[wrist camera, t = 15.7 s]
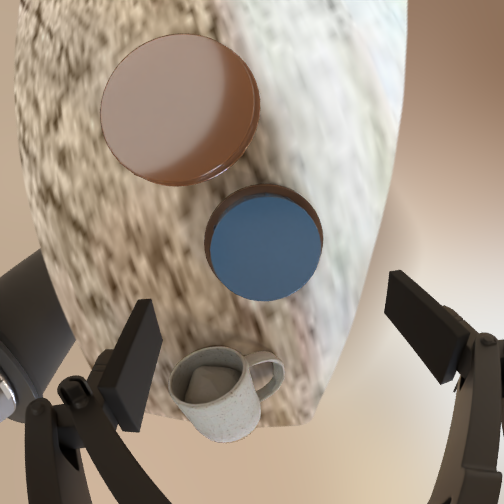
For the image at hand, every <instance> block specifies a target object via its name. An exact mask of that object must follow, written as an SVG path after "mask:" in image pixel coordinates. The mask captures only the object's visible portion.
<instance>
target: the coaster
mask: <svg viewBox="0 0 504 504" xmlns="http://www.w3.org/2000/svg"><path fill="white" fill-rule="evenodd" d="M265 192H267V193H273V194H278V195H282V196H285V197H286V196H287V197H288V198H289V199H291V200H293V201H294V202H296V203H297V204H298V205H299V206H301V207H302V208H304V209H305V210H306V211H307V213H308V215H309V216H310V217H311V218H312V220H313V221H314V223H315V225H316V227H317V229H318V232H319V235H320V241H321V252H322V247H323V231H322V227H321V223H320V220H319V218H318V216H317V214H316V212H315V210H314V209H313V208H312V206H311V205H310V204H309V203H308V202H307V201H306V200H305V199H304V198H303V197H302V196H300V195H299V194H298V193H296V192H294V191H292V190H290V189H288V188H286V187H282V186H279V185H273V184H257V185H251V186H248V187H244V188H242V189H240V190H237V191H236V192H234V193H232V194H231V195H229V196H228V197H227V198H225V199H224V200H223V201H222V202H221V203H220V204H219V205H218V206H217V208H216V209H215V211H214V212H213V214H212V215H211V217H210V219H209V222H208V225H207V228H206V232H205V240H204V245H205V253H206V258H207V261H208V263H209V266H210V267H211V269H212V271H213V272H214V274H215V275H216V273H215V271H214V268H213V265H212V261H211V255H210V246H211V240H212V235H213V229H214V225H216V223H217V221H218V219H219V218H220V216H221V215H222V214H223V212H224V211H225V209H226V208H228V207H229V206H230V205H232V204H233V203H234V202H236V201H238V200H239V199H241V198H243V197H244V196H245V197H246V196H249V195H252V194H258V193H265ZM320 255H321V253H320ZM216 277H217V278H218V276H217V275H216ZM218 279H219V278H218ZM219 280H220V279H219Z"/></svg>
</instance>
